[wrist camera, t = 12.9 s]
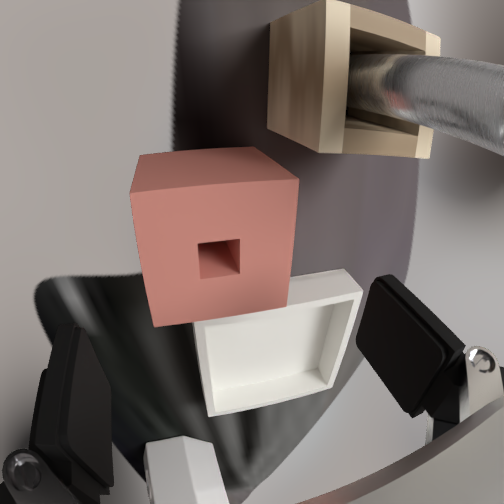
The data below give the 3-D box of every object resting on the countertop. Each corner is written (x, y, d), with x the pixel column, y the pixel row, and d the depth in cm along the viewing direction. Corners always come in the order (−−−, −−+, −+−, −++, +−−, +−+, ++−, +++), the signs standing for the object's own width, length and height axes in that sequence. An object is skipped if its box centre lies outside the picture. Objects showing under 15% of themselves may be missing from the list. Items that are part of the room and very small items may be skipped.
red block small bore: (140, 155, 15) (129, 193, 10) (253, 146, 16) (299, 179, 11) (152, 256, 18) (154, 327, 13) (251, 244, 19) (286, 306, 14)
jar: (145, 433, 27) (161, 536, 17) (218, 433, 30) (246, 528, 20) (140, 462, 31) (154, 545, 21) (201, 462, 34) (222, 540, 24)
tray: (188, 291, 20) (193, 321, 17) (343, 268, 22) (363, 290, 20) (202, 391, 25) (208, 417, 23) (319, 365, 28) (332, 387, 26)
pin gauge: (299, 54, 14) (503, 55, 4) (340, 60, 15) (539, 84, 5) (297, 99, 15) (493, 155, 5) (338, 102, 16) (529, 164, 6)
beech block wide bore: (270, 22, 13) (326, -2, 8) (366, 39, 14) (440, 37, 9) (266, 128, 16) (318, 152, 11) (360, 132, 17) (429, 158, 12)
